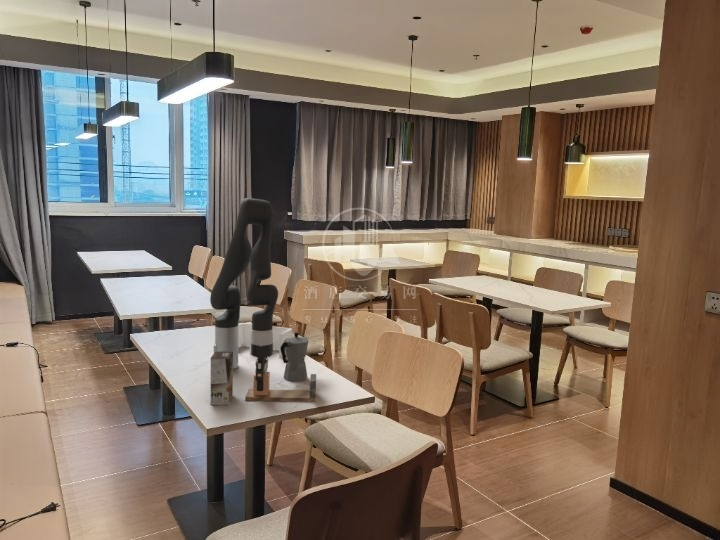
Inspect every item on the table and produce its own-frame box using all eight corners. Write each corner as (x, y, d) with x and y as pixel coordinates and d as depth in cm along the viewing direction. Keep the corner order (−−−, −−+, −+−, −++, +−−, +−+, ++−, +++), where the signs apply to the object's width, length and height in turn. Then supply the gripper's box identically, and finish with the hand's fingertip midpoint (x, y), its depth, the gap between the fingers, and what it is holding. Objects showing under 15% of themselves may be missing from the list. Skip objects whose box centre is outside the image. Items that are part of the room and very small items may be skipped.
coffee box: (229, 405, 194) (229, 358, 191) (210, 405, 193) (210, 358, 191) (233, 395, 203) (233, 351, 200) (214, 395, 202) (214, 350, 200)
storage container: (291, 352, 259) (292, 328, 258) (281, 358, 249) (281, 334, 247) (241, 346, 266) (241, 323, 265) (229, 352, 256) (229, 328, 254)
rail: (245, 400, 198) (245, 380, 197) (248, 392, 206) (248, 372, 205) (315, 401, 200) (315, 381, 199) (315, 393, 207) (316, 374, 206)
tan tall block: (253, 395, 200) (253, 375, 199) (255, 390, 204) (255, 371, 203) (267, 395, 200) (268, 375, 199) (269, 390, 205) (269, 371, 204)
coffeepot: (296, 371, 232) (297, 327, 229) (315, 376, 227) (316, 331, 224) (271, 381, 219) (271, 335, 216) (290, 386, 214) (291, 339, 211)
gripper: (253, 336, 207) (253, 379, 209) (248, 346, 193) (247, 393, 195) (274, 336, 207) (274, 380, 209) (270, 347, 193) (270, 393, 195)
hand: (261, 386), depth 202 cm, fingers open, 8 cm apart
